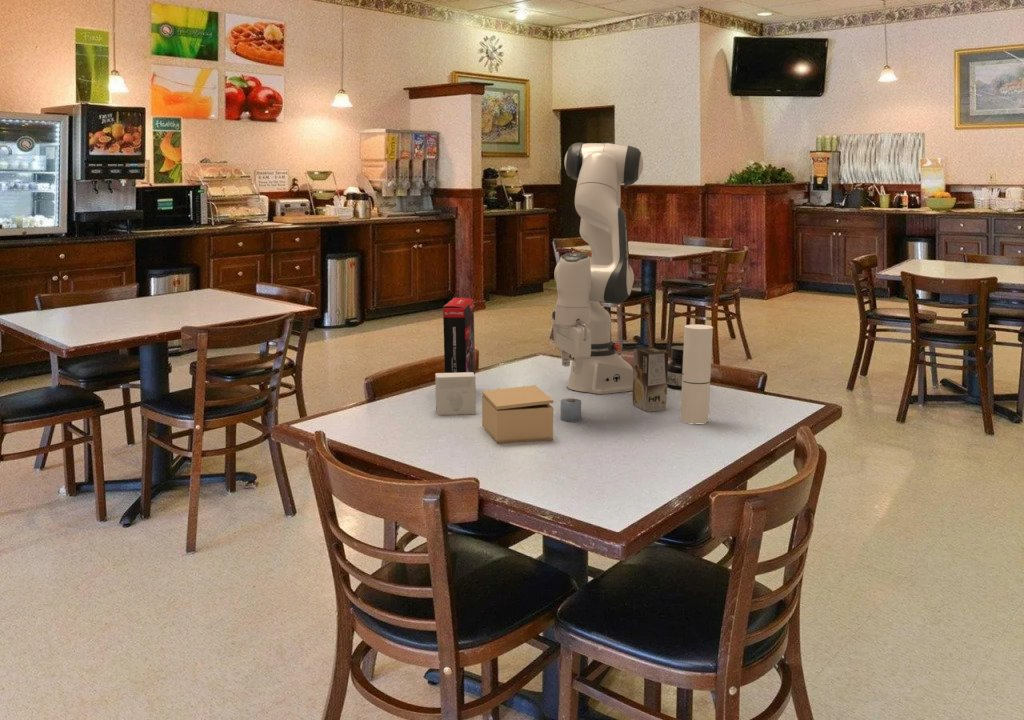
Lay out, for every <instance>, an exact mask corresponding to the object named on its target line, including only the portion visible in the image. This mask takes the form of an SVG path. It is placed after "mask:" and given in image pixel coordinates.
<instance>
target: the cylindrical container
mask: <svg viewBox="0 0 1024 720" xmlns="http://www.w3.org/2000/svg"><path fill="white" fill-rule="evenodd" d="M683 327H684V328H683V329H684V331H683V332H684V333H683V346H684V349H683V371H682V389H681V395H680V396H681V397H680V401H681V402H680V417H679V418H680V419H679V420H680V422H681V421H682V422H681V423H683V422H685V423H684V424H686V423H693V424H696V423H705V422H707V421H708V422H709V413H710V412H709V411H710V409H709V408H710V392H711V391H710V390H711V374H712V373H711V370H712V355H713V354H712V351H713V334H714V332H713V331H714V327H713V326H712V325H708V324H698V323H697V324H695V323H694V324H686V325H684V326H683ZM693 424H692V425H693Z"/></svg>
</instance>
